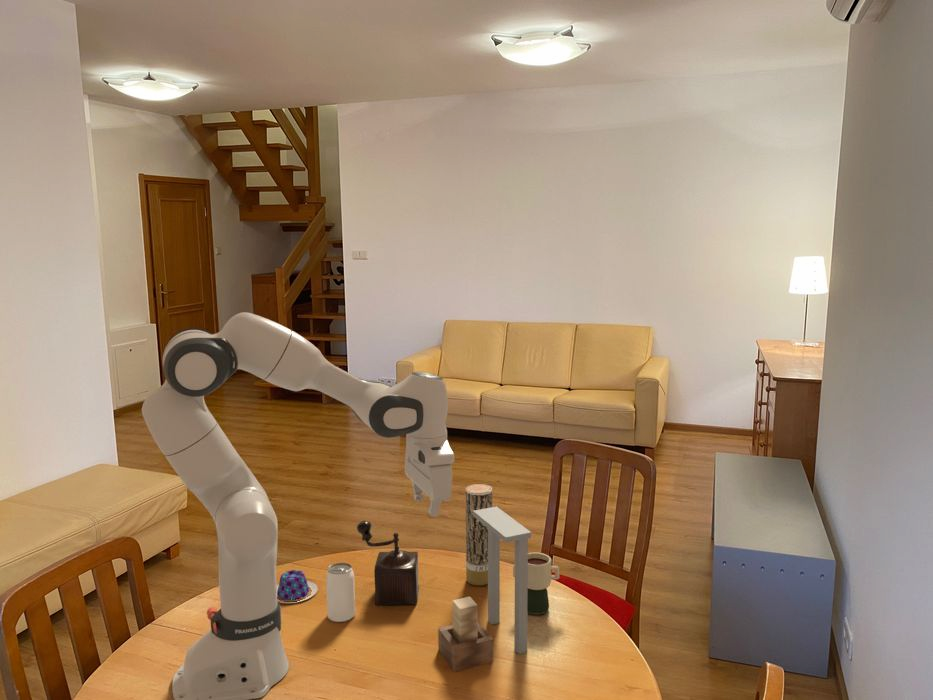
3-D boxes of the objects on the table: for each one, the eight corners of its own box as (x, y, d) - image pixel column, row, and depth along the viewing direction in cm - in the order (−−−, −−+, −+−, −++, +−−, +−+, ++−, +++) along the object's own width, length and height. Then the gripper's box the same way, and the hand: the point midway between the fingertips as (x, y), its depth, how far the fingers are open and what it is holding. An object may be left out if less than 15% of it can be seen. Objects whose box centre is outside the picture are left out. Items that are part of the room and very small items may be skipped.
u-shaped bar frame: (505, 659, 148) (505, 537, 144) (473, 622, 162) (472, 510, 158) (530, 652, 150) (531, 532, 146) (496, 617, 164) (496, 506, 160)
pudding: (278, 582, 183) (277, 563, 182) (323, 583, 182) (322, 564, 181) (261, 605, 171) (260, 585, 170) (309, 606, 170) (309, 586, 170)
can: (349, 624, 162) (347, 575, 160) (323, 621, 163) (321, 573, 161) (359, 610, 168) (357, 563, 166) (333, 607, 169) (332, 560, 167)
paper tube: (460, 580, 183) (460, 488, 179) (479, 572, 187) (479, 482, 183) (478, 589, 178) (478, 495, 174) (497, 580, 182) (497, 488, 178)
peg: (460, 662, 147) (460, 609, 145) (453, 652, 150) (452, 600, 149) (477, 658, 148) (477, 605, 147) (469, 648, 152) (469, 596, 150)
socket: (454, 671, 144) (454, 649, 143) (438, 649, 151) (438, 628, 151) (493, 661, 147) (493, 639, 146) (475, 639, 155) (475, 618, 154)
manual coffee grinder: (419, 583, 181) (418, 517, 178) (417, 605, 170) (416, 535, 167) (359, 584, 181) (357, 518, 178) (353, 606, 170) (350, 536, 167)
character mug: (557, 603, 171) (558, 552, 169) (559, 618, 164) (560, 566, 162) (513, 601, 172) (513, 551, 170) (512, 616, 165) (513, 564, 163)
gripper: (397, 435, 159) (397, 494, 161) (429, 460, 141) (428, 526, 143) (424, 433, 162) (423, 490, 164) (458, 457, 143) (456, 522, 145)
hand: (426, 507), depth 153 cm, fingers open, 8 cm apart
